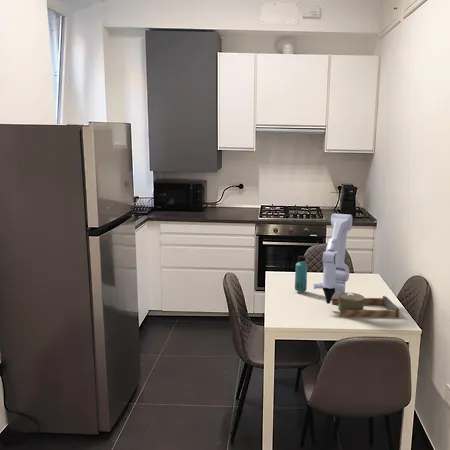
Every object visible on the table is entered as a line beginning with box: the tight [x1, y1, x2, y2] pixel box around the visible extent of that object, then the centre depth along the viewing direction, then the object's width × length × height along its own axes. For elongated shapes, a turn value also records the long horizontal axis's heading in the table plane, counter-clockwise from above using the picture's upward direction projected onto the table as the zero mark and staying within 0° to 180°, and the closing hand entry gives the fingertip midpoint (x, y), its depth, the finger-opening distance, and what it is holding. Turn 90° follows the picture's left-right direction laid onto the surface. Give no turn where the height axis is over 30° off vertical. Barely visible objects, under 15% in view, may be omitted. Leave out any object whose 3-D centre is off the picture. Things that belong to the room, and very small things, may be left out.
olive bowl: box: [337, 292, 365, 312], centre depth 218 cm, size 12×12×7 cm
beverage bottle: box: [294, 255, 308, 292], centre depth 242 cm, size 6×7×20 cm
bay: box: [331, 295, 400, 318], centre depth 218 cm, size 27×18×4 cm
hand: (328, 302), depth 218 cm, fingers closed
